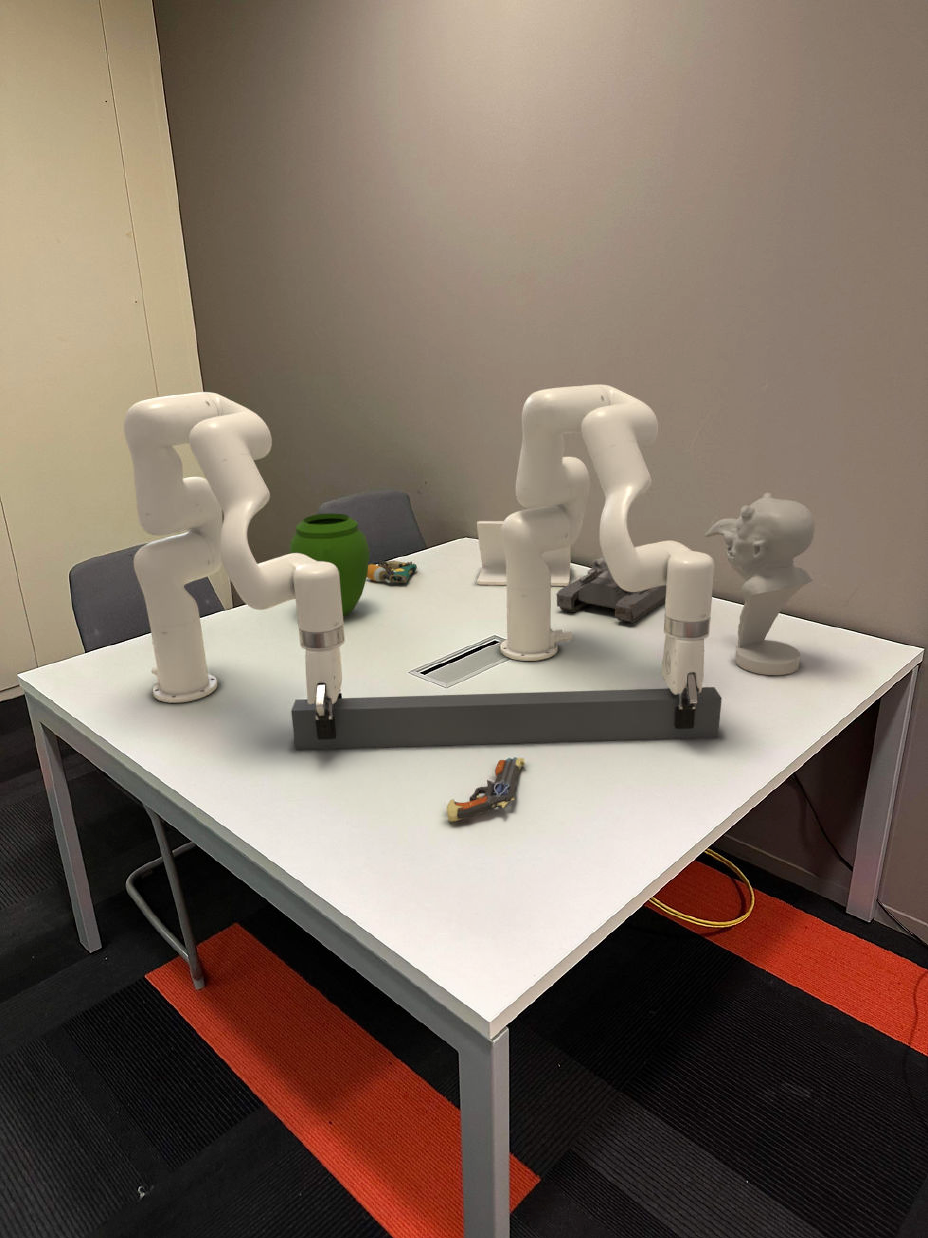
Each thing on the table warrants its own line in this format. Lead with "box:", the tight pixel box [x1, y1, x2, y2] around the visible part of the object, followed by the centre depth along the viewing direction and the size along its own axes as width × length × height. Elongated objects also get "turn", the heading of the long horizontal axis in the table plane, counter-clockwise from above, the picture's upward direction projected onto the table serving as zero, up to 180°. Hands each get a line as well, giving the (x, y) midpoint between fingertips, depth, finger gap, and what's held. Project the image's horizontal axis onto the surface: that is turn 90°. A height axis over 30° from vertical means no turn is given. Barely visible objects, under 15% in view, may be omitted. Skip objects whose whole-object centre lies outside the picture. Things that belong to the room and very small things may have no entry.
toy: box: [556, 555, 666, 624], centre depth 212 cm, size 25×20×15 cm
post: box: [290, 686, 723, 751], centre depth 150 cm, size 74×4×8 cm, turn 91°
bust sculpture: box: [704, 492, 816, 676], centre depth 176 cm, size 16×24×35 cm, turn 28°
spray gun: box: [366, 560, 418, 584], centre depth 241 cm, size 4×17×15 cm
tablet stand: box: [476, 520, 572, 587], centre depth 236 cm, size 18×25×17 cm
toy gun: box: [446, 756, 526, 822], centre depth 134 cm, size 3×19×10 cm
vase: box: [288, 512, 370, 618], centre depth 209 cm, size 20×20×24 cm
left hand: (330, 725), depth 151 cm, fingers open, 8 cm apart
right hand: (680, 720), depth 151 cm, fingers closed on post, 4 cm apart
